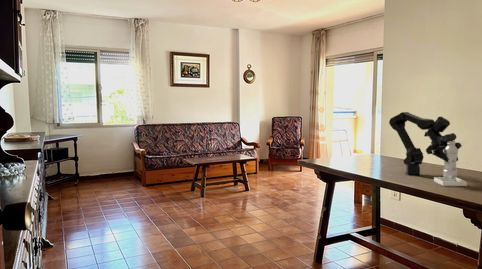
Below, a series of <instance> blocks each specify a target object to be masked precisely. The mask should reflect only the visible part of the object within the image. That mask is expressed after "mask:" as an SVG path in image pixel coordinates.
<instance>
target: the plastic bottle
mask: <svg viewBox="0 0 482 269" xmlns="http://www.w3.org/2000/svg"><path fill="white" fill-rule="evenodd" d="M455 143H456V140H453V141H452V140H450V141H447V146H446V147H445V149H444V150H443V152H444V154H445V155H446V157H447V159H448V162H446V161H444V160H443V161H444V163H443V164H444V165H443V170H442V177H445V178H448V179H454V178H458V177H457V176H458V171H457V162H458V161H457V157H458V153H459V149H457V148H456V147H455Z"/></svg>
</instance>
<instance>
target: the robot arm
mask: <svg viewBox="0 0 482 269" xmlns="http://www.w3.org/2000/svg"><path fill="white" fill-rule="evenodd" d="M388 122H389V125H390V127H391V128H392V129H393V130H394V131H396V132H397V134H398V136H399V139H400V140H401V142H402V144H403V147H404V148H405V150H406V153H405V156H406V157H405V158H404V159H403V164H404V165H406V166H405V168H406V170H405V174H406V175H407V176H421V166H420V165H422V164H423V160H424V153H423V152H422V149H421V148H420V147H418V148H417V147H415V144H414V142H413V141H412V139H411V136H410V135H409V133H408V131H407V130H406V122H410V123H411V124H412V123H413V124H415V125H416V126H417V127H418V128H419V129H420V130H422V131H425V132H424V134H423V136H424V137H428V138H429V139H430V141H431V142H430V145H429V146H427V148H426V149H425V152H426V154H427V155H432V156H435V157H437V158H439V159H441V160H442V161H446V162H448V159H447V157H446V155H445V154H444V149H445V147H446V146H447V141H450V140H452V141H456V139H457V134H455V133H454V132H452V133H448V134H445V135H442V133H444V131H446V129H447V128H448V127H449V126H451V122H450V120H448V119H447V118H445V117H443V116H438V117H437V118H436V120H434V119H431V118H423V117H420V116H418V115H416V114H412V113H410V112H408V111H403V112H400V113H399V114H397V115H394V116H393V117H391V118H390V120H389V121H388ZM426 130H427V131H426ZM462 146H463V144H461V142H455V147H456V148H457V149H458V150H459V149H460V148H462ZM458 161H459V156H457V161H456V162H458Z"/></svg>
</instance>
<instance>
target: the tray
mask: <svg viewBox="0 0 482 269" xmlns="http://www.w3.org/2000/svg"><path fill="white" fill-rule="evenodd" d="M433 178H434V179H433V182H434V183H435V184H436V185H439V186H442V187H457V186H458V187H459V186H466V188H467V187H468V182H467V181H466V180H464V179H461V178H459V177H456V178H454V179H448V178H445V177H443V176H442V177H440V176H439V177H435V176H434V177H433Z"/></svg>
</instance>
